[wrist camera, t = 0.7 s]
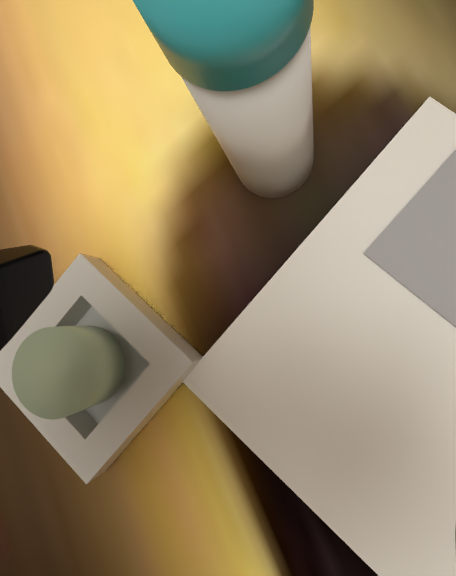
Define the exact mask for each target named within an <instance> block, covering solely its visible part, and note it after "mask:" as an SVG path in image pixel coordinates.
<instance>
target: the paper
mask: <svg viewBox="0 0 456 576" xmlns="http://www.w3.org/2000/svg"><path fill="white" fill-rule="evenodd" d="M182 382H183V383H184V384H185V385H186V386H187V387H188V388H189V389H190V390H191V391H192V392H193V393H194V394H195V395H196V396H197V397H198V398H199V399H200V400H201V401H202V402H203V403H204V404H205V405H206V406H207V407H208V408H209V409H210V410H211V411H212V412H213V413H214V414H215V415H216V416H217V417H218V418H219V419H220V420H221V421H222V422H223V423H225V424H226V425H227V426H228V427H229V428H230V429H231V430H232V431H233V432H234V433H235V434H236V435H237V436H238V437H239V438H240V439H241V440H242V441H243V442H244V443H245V444H246V445H247V446H248V447H249V448H250V449H251V450H252V451H253V452H254V453H255V454H256V455H257V456H258V457H259V458H260V459H261V460H262V461H263V462H264V463H265V464H266V465H267V466H268V467H269V468H270V469H271V470H272V471H273V472H274V473H275V474H276V475H277V476H278V477H279V478H280V479H281V480H282V481H283V482H284V483H285V484H286V485H287V486H288V487H289V488H290V489H291V490H292V491H293V492H294V493H295V494H296V495H297V496H298V497H300V498H301V499H302V500H303V501H304V502H305V503H306V504H307V505H308V506H309V507H310V508H311V509H312V510H313V511H314V512H315V513H316V514H317V515H318V516H319V517H320V518H321V519H322V520H323V521H324V522H325V523H326V524H327V525H328V526H329V527H330V528H331V529H332V530H333V531H334V532H335V533H336V534H337V535H338V536H339V537H340V538H341V539H342V540H343V541H344V542H345V543H346V544H347V545H348V546H349V547H350V548H351V549H352V550H353V551H354V552H355V553H356V554H357V555H358V556H359V557H360V558H361V559H362V560H363V561H364V562H365V563H366V564H367V565H368V566H369V567H370V568H371V569H372V570H374V571H375V572H376V573H377V574H378V575H379V576H456V542H455V528H456V114H455V113H453V112H452V111H450V110H449V109H447V108H446V107H444V106H443V105H441V104H440V103H439V102H437V101H436V100H434V99H433V98H431V97H429V98H428V99H427V100H426V101H425V103H424V104H423V105H422V106H421V107H420V108H419V109H418V111H417V112H416V113H415V114H414V115H413V116H412V117H411V119H410V120H409V121H408V122H407V123H406V124H405V125H404V127H403V128H402V129H401V130H400V131H399V132H398V134H397V135H396V136H395V137H394V138H393V139H392V140H391V142H390V143H389V144H388V145H387V146H386V147H385V148H384V150H383V151H382V152H381V153H380V154H379V155H378V156H377V158H376V159H375V160H374V161H373V162H372V163H371V165H370V166H369V167H368V168H367V169H366V170H365V171H364V173H363V174H362V175H361V176H360V177H359V178H358V179H357V181H356V182H355V183H354V184H353V185H352V186H351V187H350V189H349V190H348V191H347V192H346V193H345V194H344V196H343V197H342V198H341V199H340V200H339V201H338V202H337V204H336V205H335V206H334V207H333V208H332V209H331V210H330V212H329V213H328V214H327V215H326V216H325V217H324V219H323V220H322V221H321V222H320V223H319V224H318V225H317V227H316V228H315V229H314V230H313V231H312V232H311V233H310V235H309V236H308V237H307V238H306V239H305V240H304V241H303V243H302V244H301V245H300V246H299V247H298V248H297V250H296V251H295V252H294V253H293V254H292V255H291V256H290V258H289V259H288V260H287V261H286V262H285V263H284V264H283V266H282V267H281V268H280V269H279V270H278V271H277V272H276V274H275V275H274V276H273V277H272V278H271V279H270V281H269V282H268V283H267V284H266V285H265V286H264V287H263V289H262V290H261V291H260V292H259V293H258V294H257V295H256V297H255V298H254V299H253V300H252V301H251V302H250V304H249V305H248V306H247V307H246V308H245V309H244V310H243V312H242V313H241V314H240V315H239V316H238V317H237V318H236V320H235V321H234V322H233V323H232V324H231V325H230V326H229V328H228V329H227V330H226V331H225V332H224V333H223V335H222V336H221V337H220V338H219V339H218V340H217V341H216V343H215V344H214V345H213V346H212V347H211V348H210V349H209V351H208V352H207V353H206V354H205V355H204V356H203V357H202V359H201V360H200V361H199V362H198V363H197V364H196V366H195V367H194V368H193V369H192V370H191V371H190V372H189V374H188V375H187V376H186V377H185V378H184V379H183V380H182Z"/></svg>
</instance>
